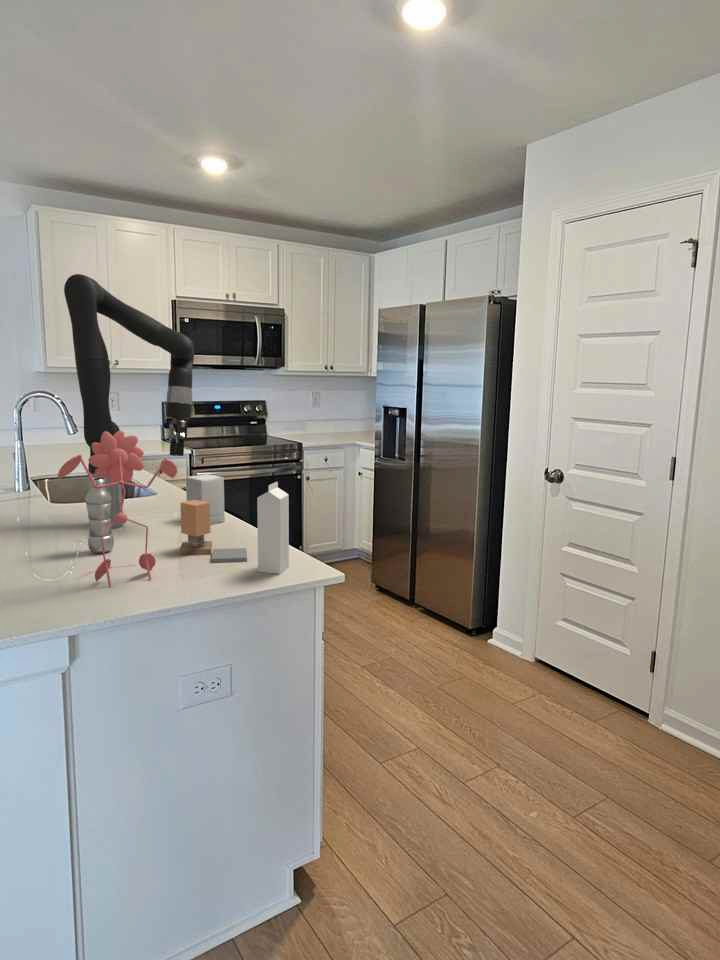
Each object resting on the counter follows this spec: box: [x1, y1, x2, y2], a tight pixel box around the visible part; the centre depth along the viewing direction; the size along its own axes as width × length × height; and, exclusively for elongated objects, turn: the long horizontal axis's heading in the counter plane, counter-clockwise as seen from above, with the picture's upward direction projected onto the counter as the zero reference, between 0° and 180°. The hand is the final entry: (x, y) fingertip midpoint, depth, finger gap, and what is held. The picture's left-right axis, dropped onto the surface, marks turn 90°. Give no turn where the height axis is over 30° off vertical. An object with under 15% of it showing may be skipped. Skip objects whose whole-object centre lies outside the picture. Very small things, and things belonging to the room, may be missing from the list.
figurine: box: [57, 430, 178, 588], centre depth 146 cm, size 15×26×35 cm, turn 126°
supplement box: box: [185, 473, 226, 525], centre depth 201 cm, size 9×9×15 cm
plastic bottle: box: [84, 478, 115, 554], centre depth 166 cm, size 6×7×20 cm
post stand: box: [179, 535, 213, 556], centre depth 169 cm, size 11×11×12 cm
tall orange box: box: [180, 500, 211, 537], centre depth 169 cm, size 5×6×8 cm
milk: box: [256, 481, 290, 575], centre depth 154 cm, size 6×6×22 cm
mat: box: [211, 547, 248, 564], centre depth 165 cm, size 9×9×1 cm
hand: (176, 455), depth 189 cm, fingers open, 8 cm apart
